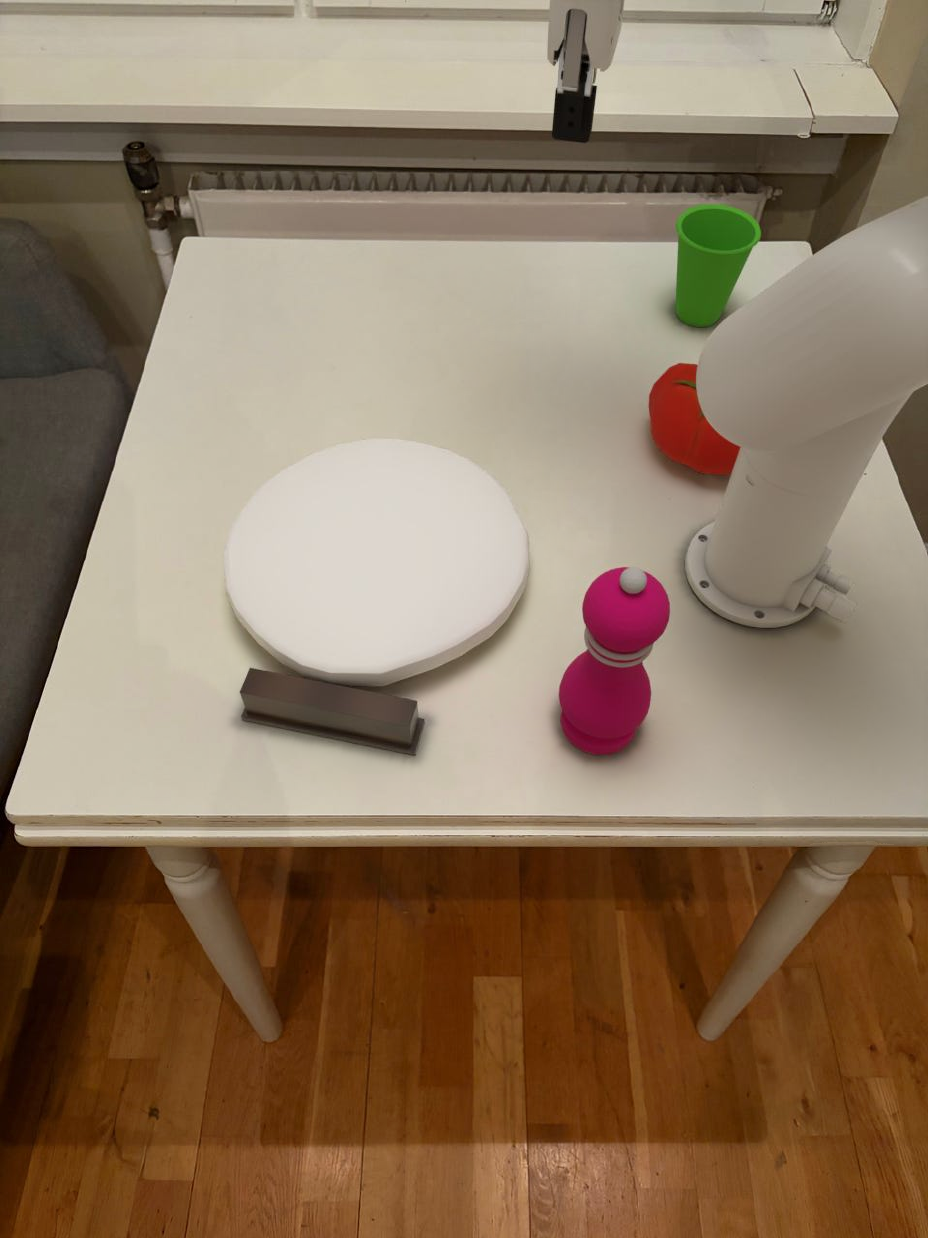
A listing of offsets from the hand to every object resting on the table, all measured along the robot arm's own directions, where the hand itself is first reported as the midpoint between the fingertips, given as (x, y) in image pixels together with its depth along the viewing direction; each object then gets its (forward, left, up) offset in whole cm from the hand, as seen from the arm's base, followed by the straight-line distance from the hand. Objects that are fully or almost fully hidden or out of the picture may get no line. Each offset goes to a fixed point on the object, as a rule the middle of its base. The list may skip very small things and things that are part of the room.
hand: (571, 135), depth 81 cm
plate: (-3, +31, -27) cm, 41 cm away
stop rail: (-10, +45, -27) cm, 54 cm away
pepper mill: (-27, +32, -27) cm, 50 cm away
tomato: (-18, -2, -27) cm, 33 cm away
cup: (-7, -21, -27) cm, 35 cm away
